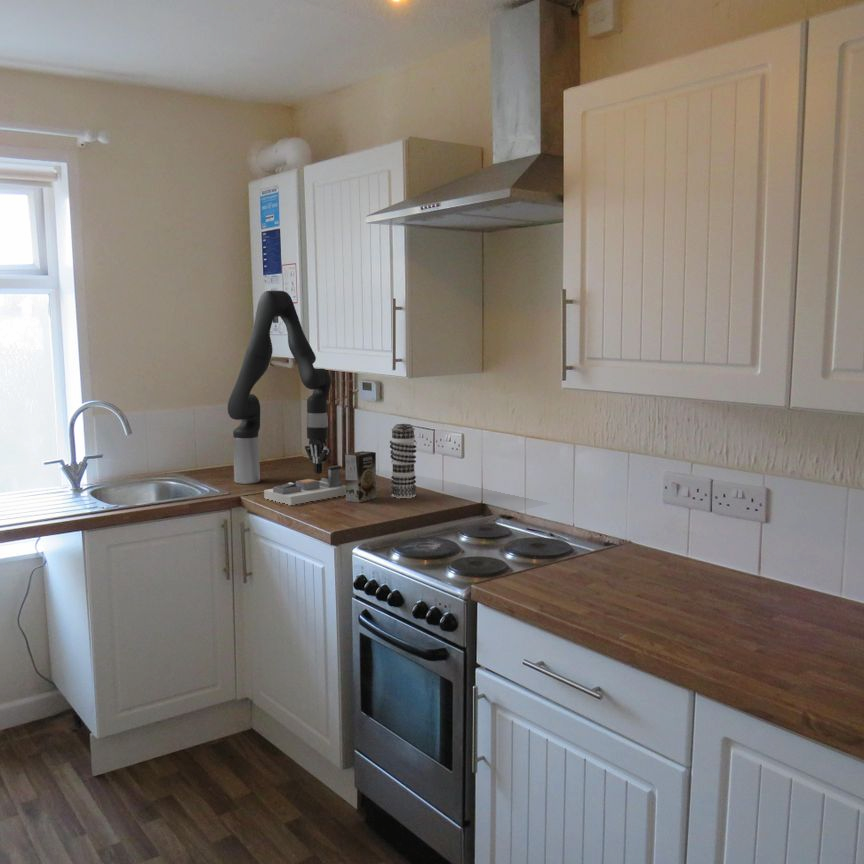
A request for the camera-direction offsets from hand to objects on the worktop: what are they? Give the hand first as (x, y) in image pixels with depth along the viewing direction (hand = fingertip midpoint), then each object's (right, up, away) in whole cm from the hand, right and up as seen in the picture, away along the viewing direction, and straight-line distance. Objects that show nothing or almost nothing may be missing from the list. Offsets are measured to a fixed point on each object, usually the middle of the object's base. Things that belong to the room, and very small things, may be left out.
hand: (318, 473), depth 304 cm
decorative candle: (+31, -8, -9) cm, 33 cm away
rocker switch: (-9, -4, -15) cm, 18 cm away
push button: (-2, -5, -9) cm, 10 cm away
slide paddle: (+7, -4, -6) cm, 10 cm away
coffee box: (+17, -9, -14) cm, 23 cm away
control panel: (-2, -8, -9) cm, 12 cm away
